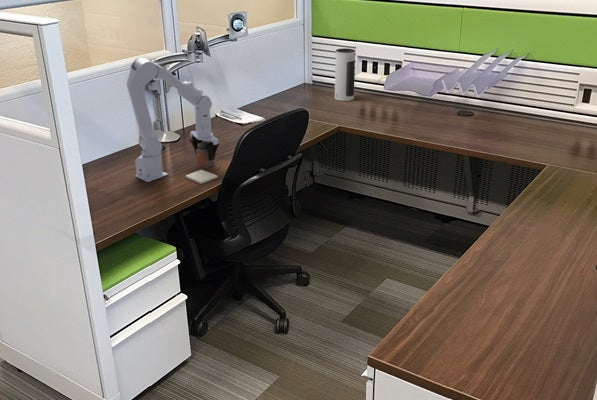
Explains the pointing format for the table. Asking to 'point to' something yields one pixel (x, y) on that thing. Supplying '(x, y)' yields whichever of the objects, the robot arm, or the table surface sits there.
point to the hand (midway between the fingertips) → (205, 157)
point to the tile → (201, 176)
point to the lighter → (203, 156)
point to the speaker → (344, 74)
